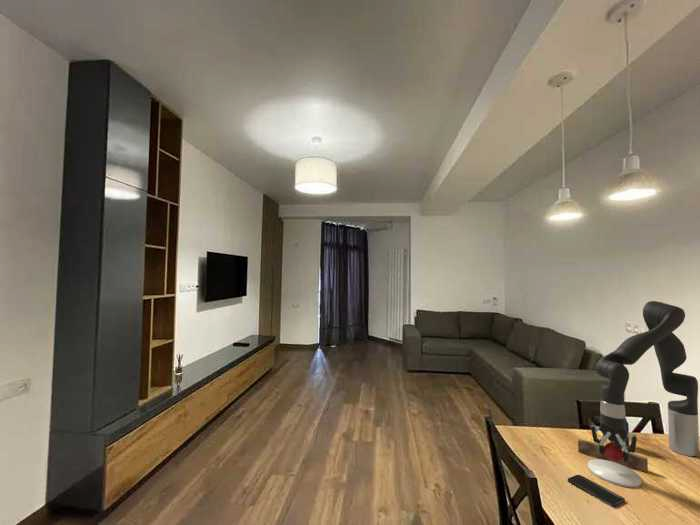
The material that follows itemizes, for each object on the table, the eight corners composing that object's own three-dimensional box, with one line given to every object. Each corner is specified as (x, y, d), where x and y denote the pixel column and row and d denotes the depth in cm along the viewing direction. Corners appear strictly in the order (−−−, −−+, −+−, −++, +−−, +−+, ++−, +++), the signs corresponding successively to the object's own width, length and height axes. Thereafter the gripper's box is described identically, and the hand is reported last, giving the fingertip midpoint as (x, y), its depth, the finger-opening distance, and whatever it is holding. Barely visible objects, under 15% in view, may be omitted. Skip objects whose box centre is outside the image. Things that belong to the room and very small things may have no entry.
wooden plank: (578, 452, 138) (578, 440, 138) (578, 450, 139) (578, 438, 139) (647, 472, 124) (647, 459, 124) (647, 470, 125) (647, 457, 125)
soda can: (612, 446, 142) (611, 419, 143) (606, 439, 149) (606, 413, 149) (632, 450, 140) (631, 422, 140) (625, 442, 146) (624, 416, 147)
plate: (601, 458, 133) (601, 455, 133) (650, 480, 119) (650, 477, 119) (579, 467, 126) (578, 465, 126) (628, 492, 112) (628, 489, 112)
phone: (578, 474, 121) (626, 499, 107) (578, 477, 121) (626, 502, 107) (565, 479, 118) (613, 506, 104) (565, 482, 118) (613, 509, 104)
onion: (627, 467, 119) (626, 445, 120) (609, 465, 120) (609, 443, 121) (617, 458, 125) (617, 438, 125) (600, 457, 126) (600, 436, 126)
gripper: (588, 411, 125) (589, 455, 124) (638, 422, 116) (639, 469, 115) (590, 405, 131) (590, 447, 130) (637, 415, 122) (638, 460, 121)
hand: (613, 457), depth 123 cm, fingers closed on onion, 6 cm apart
